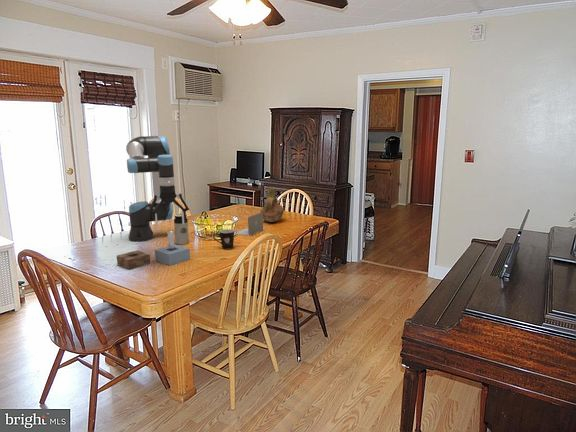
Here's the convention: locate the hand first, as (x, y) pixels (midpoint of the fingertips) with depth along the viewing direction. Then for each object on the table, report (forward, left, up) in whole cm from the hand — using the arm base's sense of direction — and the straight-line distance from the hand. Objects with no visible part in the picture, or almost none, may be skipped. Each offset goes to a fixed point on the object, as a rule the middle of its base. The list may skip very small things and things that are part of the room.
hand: (170, 224), depth 219 cm
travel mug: (-23, +23, -20) cm, 38 cm away
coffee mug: (+5, +33, -20) cm, 39 cm away
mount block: (-10, -17, -19) cm, 28 cm away
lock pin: (0, 0, -18) cm, 18 cm away
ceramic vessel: (-18, +100, -20) cm, 103 cm away
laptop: (-10, +67, -20) cm, 71 cm away
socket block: (0, 0, -19) cm, 19 cm away
